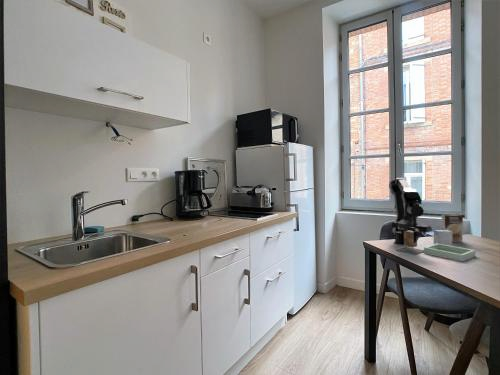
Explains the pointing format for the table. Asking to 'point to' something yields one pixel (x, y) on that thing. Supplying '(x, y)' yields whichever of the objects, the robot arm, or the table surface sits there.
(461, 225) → the coffee box
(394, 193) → the robot arm
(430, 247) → the green square frame
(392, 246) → the table surface
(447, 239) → the medicine box
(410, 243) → the walnut block
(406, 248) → the mat
